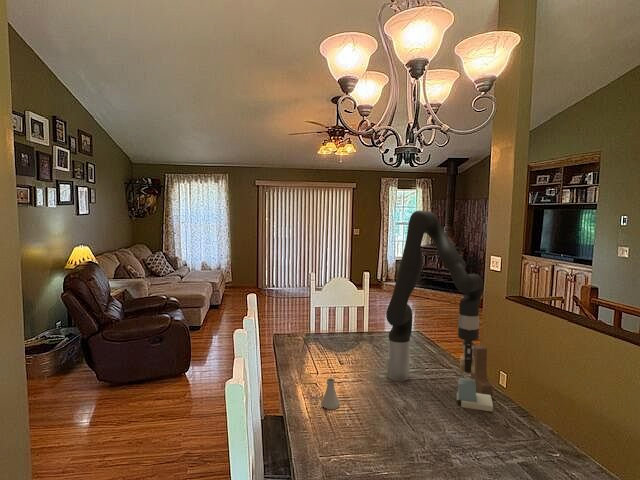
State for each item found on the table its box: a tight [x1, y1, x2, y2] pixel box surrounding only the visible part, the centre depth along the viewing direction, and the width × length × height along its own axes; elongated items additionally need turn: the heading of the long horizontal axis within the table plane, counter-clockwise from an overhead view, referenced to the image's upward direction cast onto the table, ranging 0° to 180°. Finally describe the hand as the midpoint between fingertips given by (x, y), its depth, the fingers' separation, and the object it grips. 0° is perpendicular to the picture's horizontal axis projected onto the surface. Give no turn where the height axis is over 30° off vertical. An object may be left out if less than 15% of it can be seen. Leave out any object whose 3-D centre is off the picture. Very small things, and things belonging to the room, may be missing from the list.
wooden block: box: [470, 344, 493, 396], centre depth 163 cm, size 9×4×18 cm, turn 8°
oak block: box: [459, 354, 475, 374], centre depth 153 cm, size 5×5×5 cm
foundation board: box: [456, 391, 494, 413], centre depth 153 cm, size 13×10×2 cm
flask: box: [321, 377, 341, 410], centre depth 150 cm, size 7×7×10 cm
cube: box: [457, 377, 477, 401], centre depth 154 cm, size 6×6×6 cm
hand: (467, 369), depth 153 cm, fingers closed on oak block, 5 cm apart
